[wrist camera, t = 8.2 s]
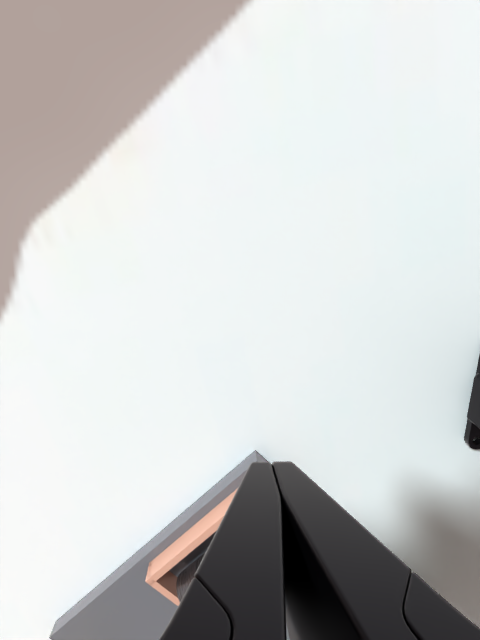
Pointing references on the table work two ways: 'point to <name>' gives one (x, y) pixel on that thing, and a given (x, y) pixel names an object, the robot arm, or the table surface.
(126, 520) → the table surface
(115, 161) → the table surface
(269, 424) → the table surface
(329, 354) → the table surface
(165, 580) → the checker
